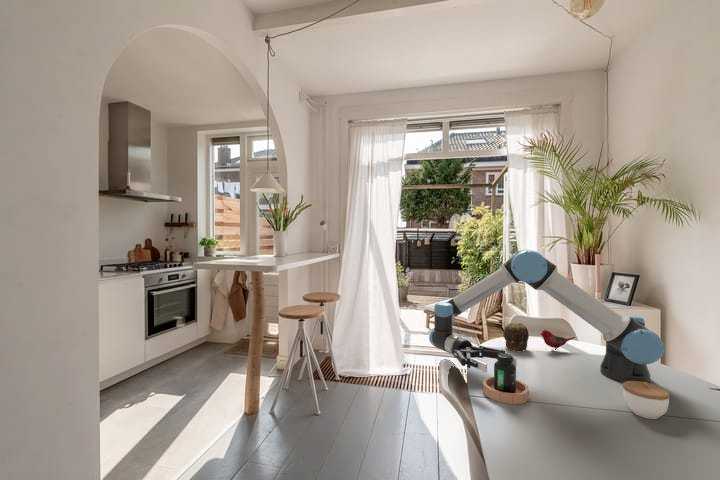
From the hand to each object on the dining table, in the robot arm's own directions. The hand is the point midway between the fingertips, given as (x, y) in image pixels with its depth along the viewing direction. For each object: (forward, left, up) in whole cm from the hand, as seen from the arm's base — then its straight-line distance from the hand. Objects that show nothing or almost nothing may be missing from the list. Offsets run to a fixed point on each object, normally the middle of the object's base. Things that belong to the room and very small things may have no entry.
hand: (501, 365), depth 116 cm
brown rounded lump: (+20, -50, -9) cm, 55 cm away
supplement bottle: (-1, 0, -8) cm, 8 cm away
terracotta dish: (-1, 0, -9) cm, 9 cm away
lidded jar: (-34, -20, -9) cm, 41 cm away
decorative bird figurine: (+6, -62, -9) cm, 63 cm away
